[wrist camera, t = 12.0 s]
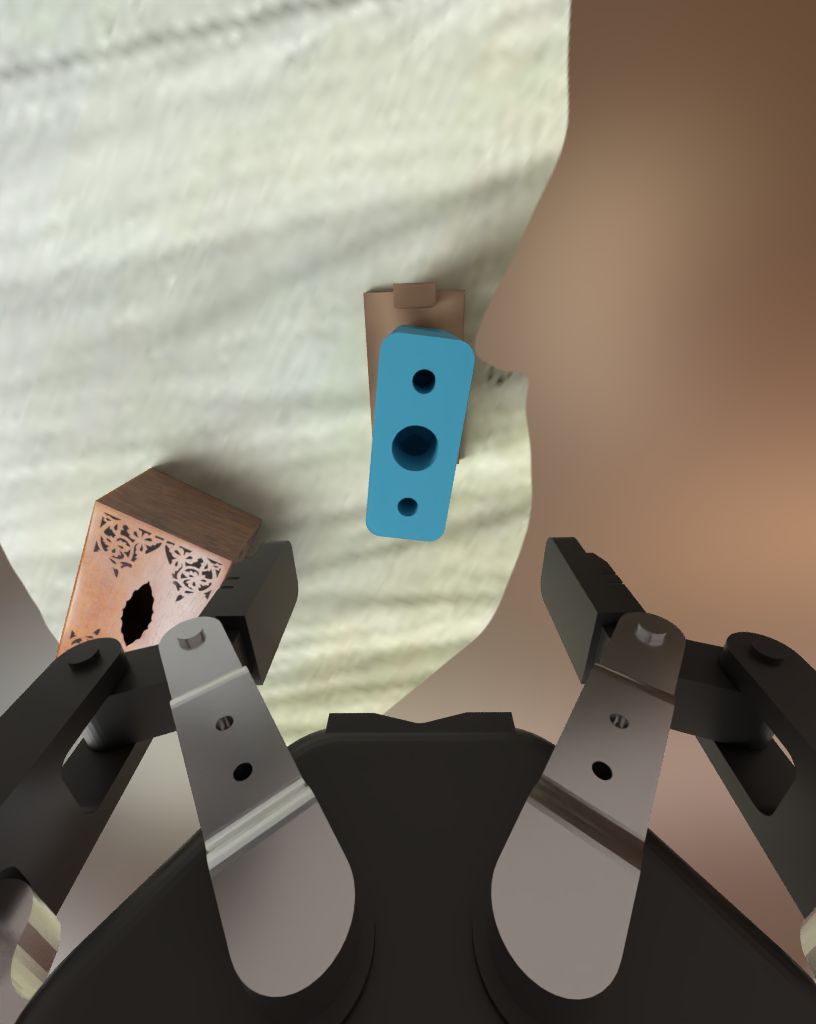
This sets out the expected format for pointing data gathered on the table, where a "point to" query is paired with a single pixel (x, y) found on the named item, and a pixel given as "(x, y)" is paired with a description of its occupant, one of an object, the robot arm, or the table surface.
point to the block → (417, 431)
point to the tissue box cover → (152, 561)
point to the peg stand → (408, 319)
